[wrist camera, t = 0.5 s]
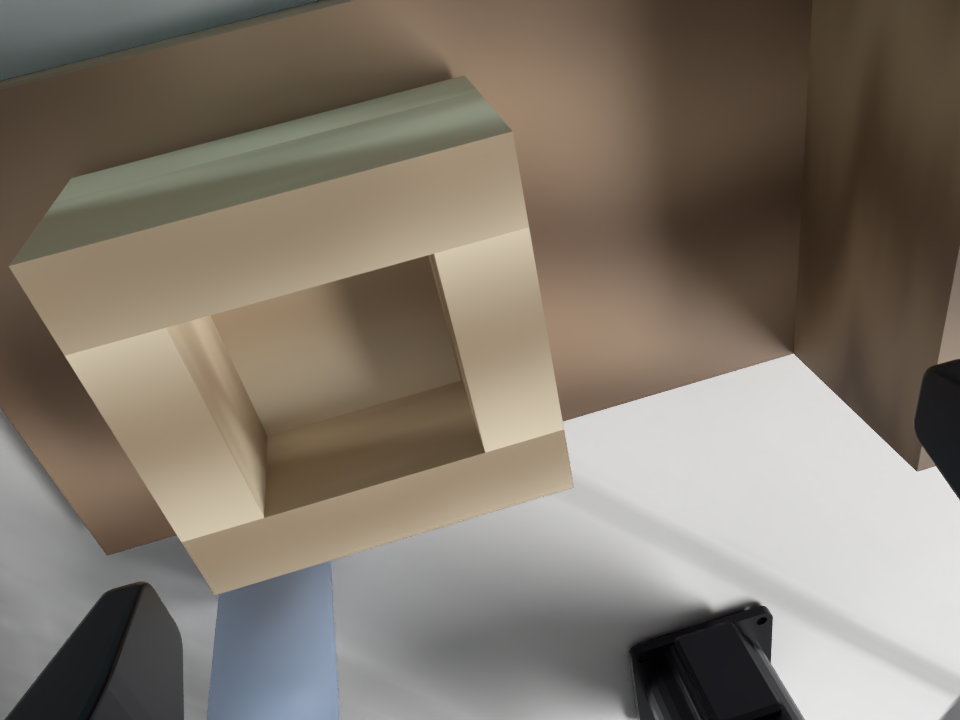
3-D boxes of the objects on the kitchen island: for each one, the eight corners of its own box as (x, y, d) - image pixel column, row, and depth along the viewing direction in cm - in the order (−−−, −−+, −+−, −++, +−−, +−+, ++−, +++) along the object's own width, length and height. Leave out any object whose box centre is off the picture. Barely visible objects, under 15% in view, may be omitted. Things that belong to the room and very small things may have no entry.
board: (823, 319, 25) (981, 451, 20) (114, 526, 24) (58, 736, 18) (859, -136, 18) (1129, -138, 12) (-165, 122, 16) (-409, 258, 11)
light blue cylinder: (342, 579, 27) (355, 736, 22) (245, 608, 27) (235, 774, 22) (311, 510, 25) (316, 666, 20) (204, 541, 25) (184, 707, 20)
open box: (526, 385, 22) (573, 487, 19) (227, 472, 22) (214, 595, 18) (464, 75, 17) (512, 131, 13) (71, 178, 17) (7, 266, 13)
